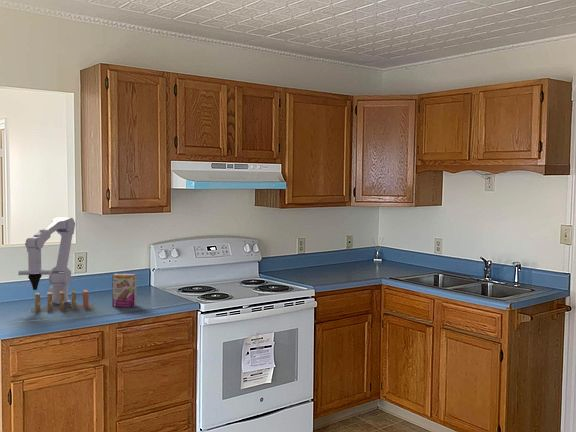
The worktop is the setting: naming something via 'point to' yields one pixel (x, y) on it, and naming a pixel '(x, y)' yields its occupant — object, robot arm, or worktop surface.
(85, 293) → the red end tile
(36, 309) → the maple tile
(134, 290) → the candy bar box
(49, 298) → the maple tile
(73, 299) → the maple tile
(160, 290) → the worktop surface
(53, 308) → the domino mat
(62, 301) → the maple tile
